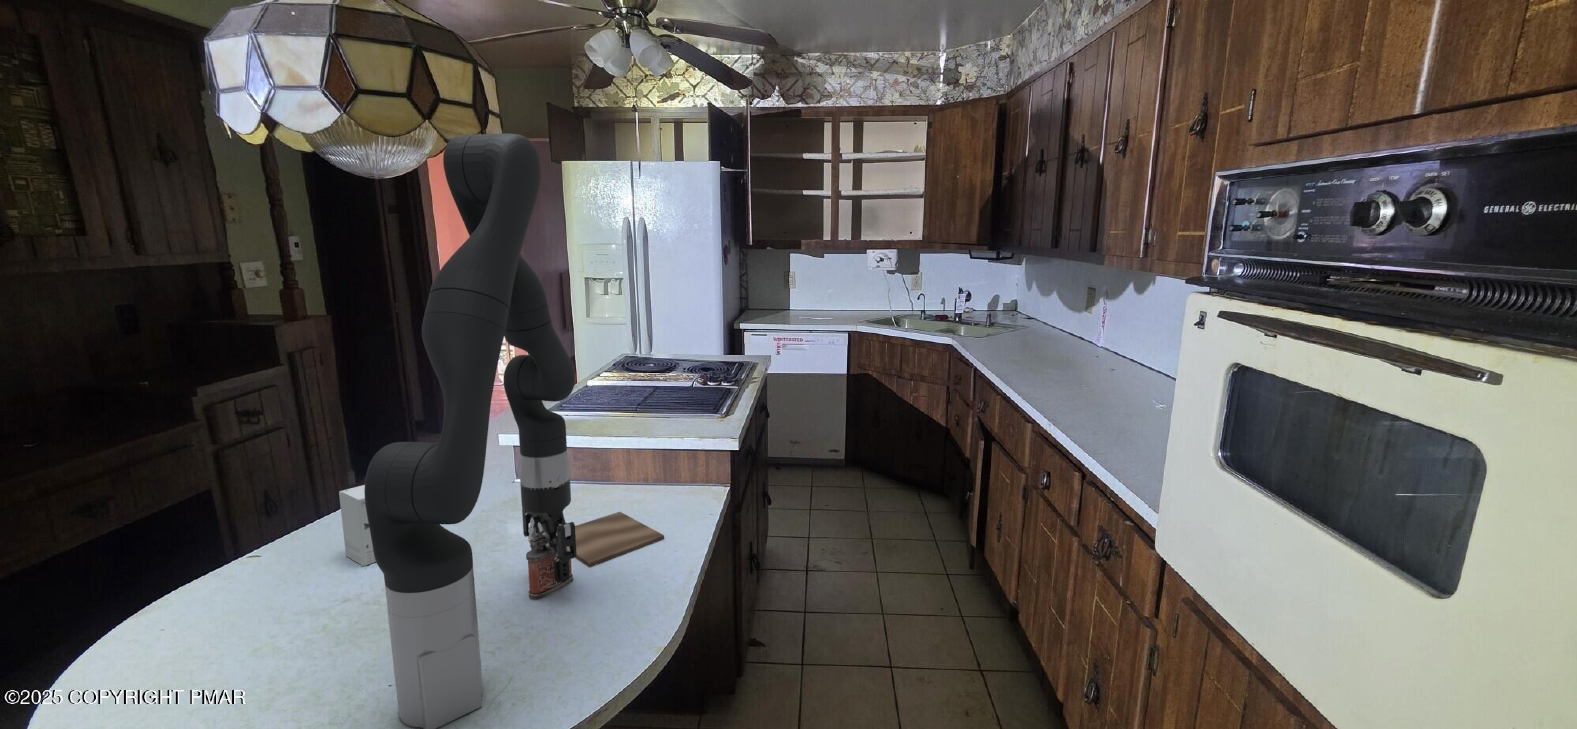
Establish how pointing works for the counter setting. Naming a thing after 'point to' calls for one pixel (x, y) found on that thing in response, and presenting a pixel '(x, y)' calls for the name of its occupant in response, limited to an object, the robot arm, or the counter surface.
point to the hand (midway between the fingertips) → (550, 571)
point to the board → (611, 538)
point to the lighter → (543, 570)
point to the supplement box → (356, 526)
